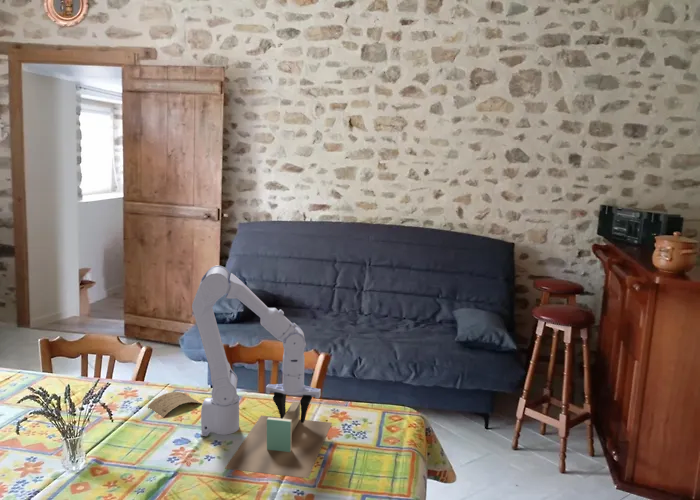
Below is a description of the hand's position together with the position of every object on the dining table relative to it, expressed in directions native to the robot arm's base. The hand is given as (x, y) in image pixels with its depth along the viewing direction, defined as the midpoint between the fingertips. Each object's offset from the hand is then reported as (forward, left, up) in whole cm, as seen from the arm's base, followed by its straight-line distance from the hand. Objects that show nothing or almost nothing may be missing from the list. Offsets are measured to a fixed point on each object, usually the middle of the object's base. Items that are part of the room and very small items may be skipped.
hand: (293, 420), depth 164 cm
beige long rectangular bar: (0, -2, -1) cm, 2 cm away
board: (0, -10, -2) cm, 11 cm away
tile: (0, -14, -1) cm, 14 cm away
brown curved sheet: (-37, +6, -3) cm, 38 cm away
